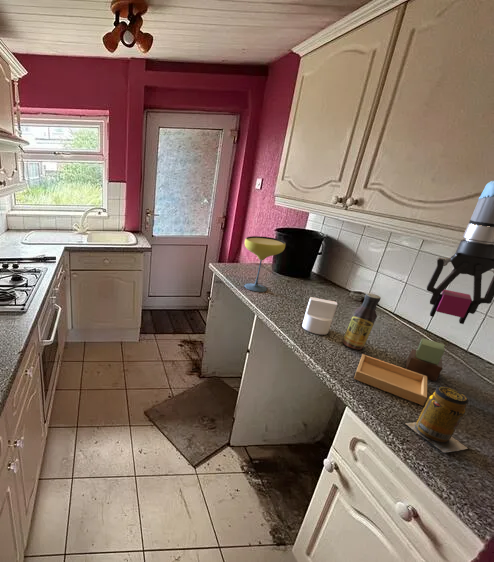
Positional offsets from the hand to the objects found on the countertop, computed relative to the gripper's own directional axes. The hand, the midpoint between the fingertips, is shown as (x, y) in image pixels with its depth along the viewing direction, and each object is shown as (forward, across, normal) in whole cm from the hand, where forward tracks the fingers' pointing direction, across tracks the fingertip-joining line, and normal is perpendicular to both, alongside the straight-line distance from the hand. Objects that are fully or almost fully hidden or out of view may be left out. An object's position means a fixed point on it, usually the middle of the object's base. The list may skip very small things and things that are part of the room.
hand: (446, 318), depth 91 cm
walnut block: (+19, 0, 0) cm, 19 cm away
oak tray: (+19, +7, +14) cm, 25 cm away
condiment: (+19, -3, +32) cm, 37 cm away
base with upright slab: (+19, +31, -6) cm, 37 cm away
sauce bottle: (+19, +18, -2) cm, 26 cm away
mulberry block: (-2, 0, 0) cm, 2 cm away
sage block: (+14, 0, 0) cm, 14 cm away
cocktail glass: (+19, +64, -31) cm, 74 cm away
